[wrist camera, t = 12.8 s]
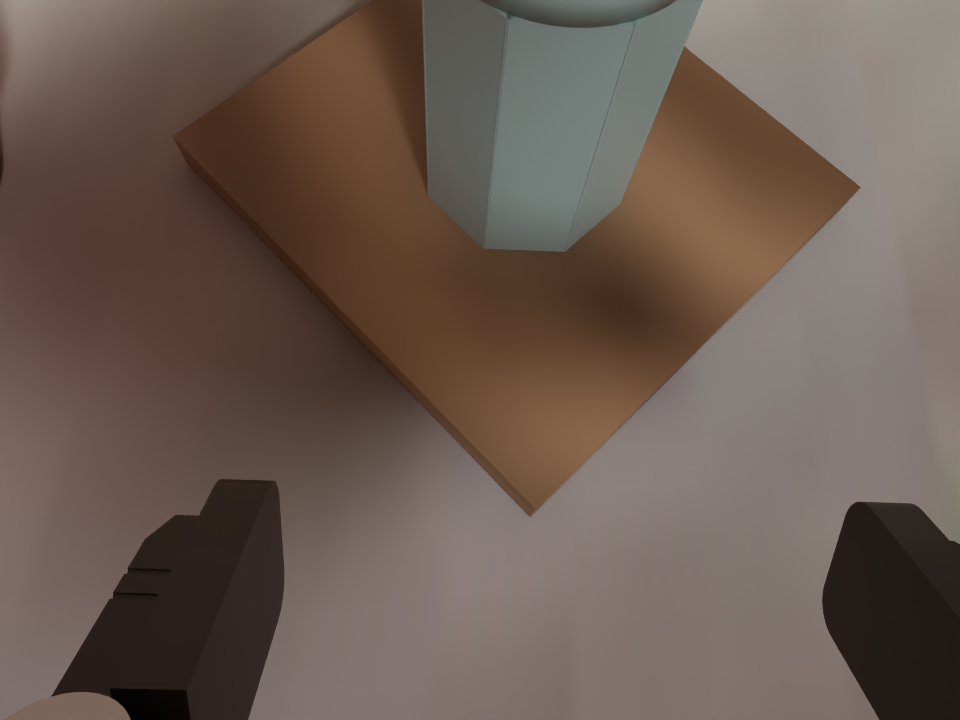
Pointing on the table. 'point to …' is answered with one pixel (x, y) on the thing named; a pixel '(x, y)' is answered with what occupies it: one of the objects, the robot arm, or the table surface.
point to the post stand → (510, 273)
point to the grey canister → (542, 109)
